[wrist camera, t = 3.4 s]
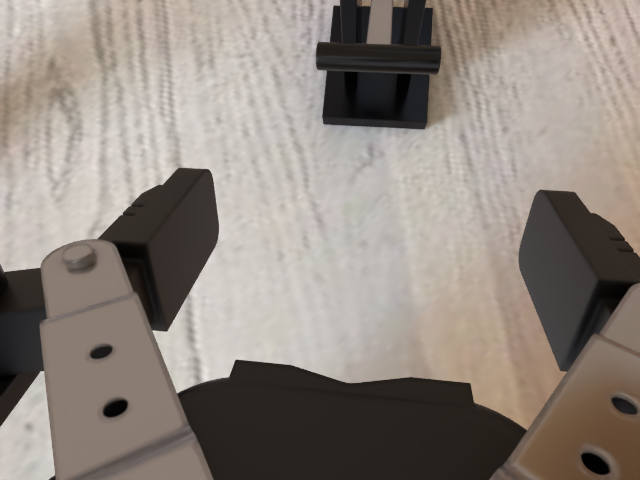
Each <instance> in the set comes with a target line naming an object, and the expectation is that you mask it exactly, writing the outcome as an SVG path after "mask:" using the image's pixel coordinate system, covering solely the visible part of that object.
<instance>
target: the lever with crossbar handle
mask: <svg viewBox="0 0 640 480" xmlns="http://www.w3.org/2000/svg"><path fill="white" fill-rule="evenodd" d="M392 14H393V0H371V7H370V16H369V25H368V34H367V43H366V44H365V43H334V42H318V44H317V49H316V67H317V70H330V71H355V72H381V73H407V74H432V75H436V74H438V72H439V68H440V62H441V47H440V46H425V45H395V44H391V33H392Z"/></svg>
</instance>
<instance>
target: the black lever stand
mask: <svg viewBox="0 0 640 480" xmlns="http://www.w3.org/2000/svg"><path fill="white" fill-rule="evenodd" d="M425 4H426V0H404V7H393V14H392V33H391V44H395V45H425V46H431V33H432V13H433V9H432V8H425ZM369 16H370V7H369V6H362V0H340V6H334V7H333V17H332V27H331V37H330V42H334V43H365V44H366V43H367V34H368V25H369ZM428 92H429V74H407V73H381V72H355V71H330V70H327V76H326V86H325V96H324V106H323V116H322V118H323V124H330V125H350V126H370V127H390V128H409V129H425V127H426V124H427V111H428Z"/></svg>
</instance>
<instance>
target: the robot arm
mask: <svg viewBox="0 0 640 480" xmlns="http://www.w3.org/2000/svg"><path fill="white" fill-rule="evenodd" d="M131 205H132V206H129V207H128V208H127V209H126V210H125V211H124V212H123V215H121V216H120V217H119V218H118V219H117V220H116V221H115V222H114V223H113V224H112V225H111V226H110V227H109V228H108V229H107V230H106V231H105V232H104V233H103V234H102V235H101V236H100V237H99V238H98V239H90V240H81V241H77V242H73V243H69V244H67V245H64V246H62V247H60V248H58V249H56V250H54V251H53V252H51V253H50V254H49V255H47V256H46V257H45V259H44V260H43V261H42V263H41V268H36V269H27V270H18V271H10V272H4V271H3V269H2V267H1V265H0V426H1V425H2V424H3V422H4V421H5V420H6V418H7V417H8V415H9V414H10V413H11V411H12V410H13V409H14V407H15V406H16V404H17V403H18V402H19V400H20V399H21V398H22V396H23V395H24V393H25V392H26V391H27V389H28V388H29V387H30V385H31V384H32V382H33V381H34V380H35V378H36V377H37V376H38V374H39V373H40V371H44V373H45V383H46V392H47V401H48V411H49V420H50V429H51V438H52V448H53V457H54V466H55V476H53V477H52V478H50V479H49V480H640V257H639V256H638V255H637V254H636V253H633V248H632V247H631V246H630V245H629V243H628V242H626V241H625V238H624V237H623V236H622V235H621V233H620V232H619V231H618V230H617V228H616V227H615V226H614V225H613V224H611V223H610V222H608V221H606V220H605V219H603V218H602V217H600V216H599V215H597V214H595V213H590V212H589V210H588V209H587V208H586V206H585V205H584V204H583V202H582V201H581V200H580V198H579V197H578V196H577V194H576V193H575V192H568V191H551V190H539V191H538V192H537V193H536V195H535V197H534V200H533V203H532V206H531V210H530V213H529V217H528V220H527V223H526V227H525V230H524V234H523V237H522V241H521V244H520V249H519V268H520V271H521V274H522V276H523V279H524V281H525V284H526V286H527V289H528V291H529V294H530V296H531V299H532V301H533V304H534V306H535V309H536V311H537V314H538V316H539V319H540V321H541V324H542V326H543V329H544V331H545V334H546V336H547V339H548V341H549V344H550V346H551V349H552V351H553V354H554V356H555V359H556V361H557V364H558V366H559V369H560V371H567V373H566V374H565V376H564V377H563V379H562V380H561V382H560V383H559V385H558V386H557V388H556V389H555V391H554V392H553V394H552V395H551V397H550V398H549V400H548V401H547V402H546V404H545V405H544V407H543V408H542V410H541V411H540V413H539V414H538V416H537V417H536V419H535V420H534V422H533V423H532V425H531V426H530V427H529V429H528V430H526V429H524V428H523V427H522V426H520V425H518V424H517V423H515V422H514V421H512V420H511V419H509V418H507V417H505V416H503V415H502V414H500V413H498V412H496V411H494V410H491V409H489V408H487V407H484V406H482V405H479V404H476V403H474V401H473V396H472V390H471V385H470V383H462V382H452V381H442V380H432V379H422V378H412V377H409V378H399V379H390V380H381V381H372V382H362V383H345V382H341V381H338V380H335V379H332V378H329V377H326V376H323V375H320V374H317V373H313V372H310V371H307V370H304V369H301V368H298V367H295V366H292V365H283V364H274V363H264V362H254V361H244V360H235V363H234V366H233V369H232V371H231V374H230V377H228V378H220V379H216V380H211V381H207V382H204V383H201V384H198V385H195V386H192V387H190V388H188V389H185V390H183V391H181V392H179V393H176V390H175V388H174V385H173V383H172V380H171V377H170V375H169V372H168V370H167V367H166V365H165V362H164V360H163V357H162V355H161V352H160V349H159V347H158V344H157V342H156V339H155V337H154V334H153V332H152V330H156V331H166V332H167V331H168V329H169V327H170V325H171V324H172V322H173V320H174V318H175V317H176V315H177V313H178V311H179V310H180V308H181V306H182V304H183V303H184V301H185V299H186V297H187V295H188V294H189V292H190V290H191V288H192V287H193V285H194V283H195V281H196V280H197V278H198V276H199V274H200V273H201V271H202V269H203V267H204V266H205V264H206V262H207V260H208V258H209V257H210V255H211V253H212V251H213V250H214V248H215V246H216V243H217V240H218V234H219V221H218V214H217V206H216V198H215V190H214V183H213V177H212V174H211V172H210V170H208V169H193V168H178V169H177V170H176V171H175V172H174V173H173V174H172V176H171V177H170V178H169V179H168V180H167V181H166V182H165V183H164V184H163V185H158V186H156V187H154V188H152V189H150V190H148V191H146V192H144V193H142V194H141V195H140V196H139V197H138V198H137V199H136V200H135V201H134V202H133V203H132V204H131Z"/></svg>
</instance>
